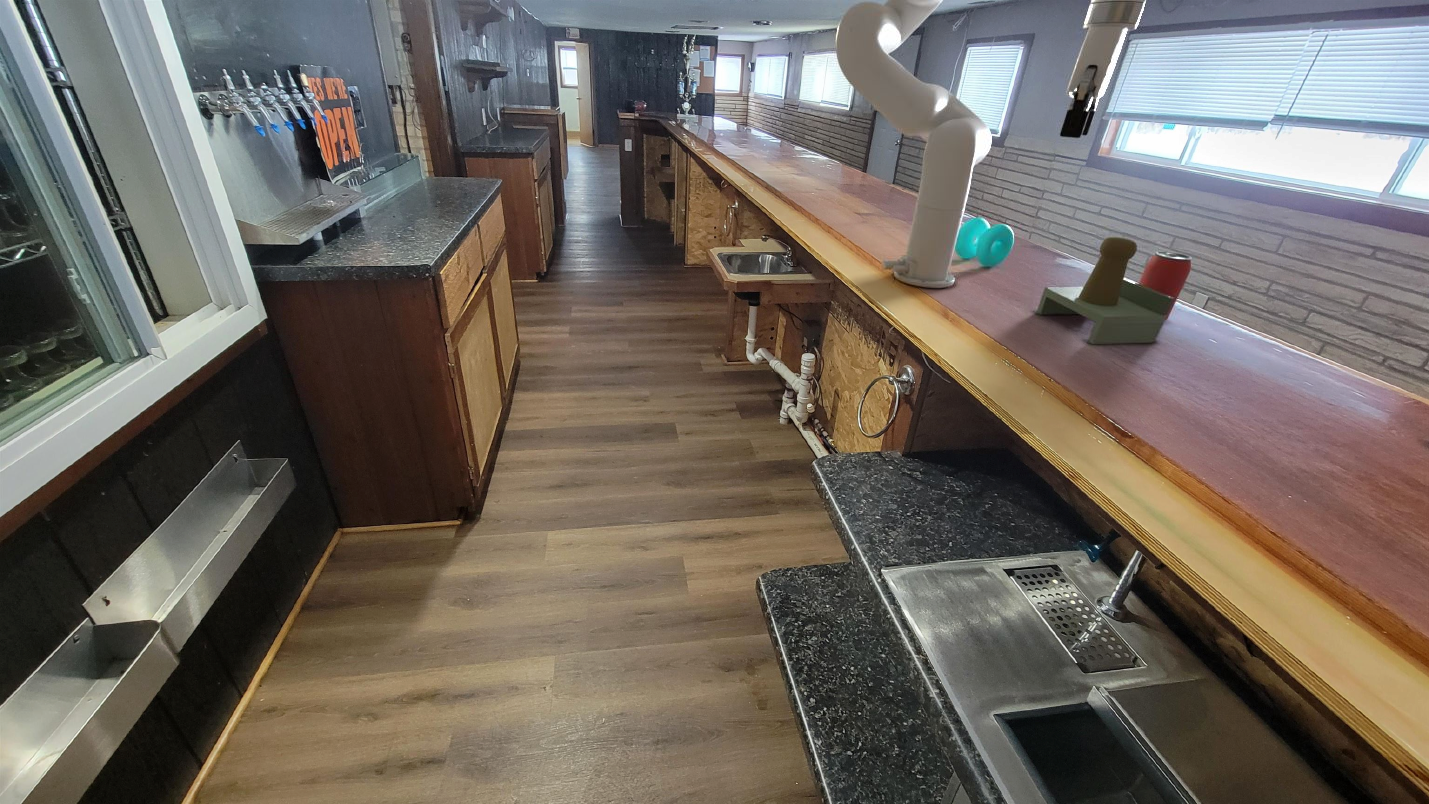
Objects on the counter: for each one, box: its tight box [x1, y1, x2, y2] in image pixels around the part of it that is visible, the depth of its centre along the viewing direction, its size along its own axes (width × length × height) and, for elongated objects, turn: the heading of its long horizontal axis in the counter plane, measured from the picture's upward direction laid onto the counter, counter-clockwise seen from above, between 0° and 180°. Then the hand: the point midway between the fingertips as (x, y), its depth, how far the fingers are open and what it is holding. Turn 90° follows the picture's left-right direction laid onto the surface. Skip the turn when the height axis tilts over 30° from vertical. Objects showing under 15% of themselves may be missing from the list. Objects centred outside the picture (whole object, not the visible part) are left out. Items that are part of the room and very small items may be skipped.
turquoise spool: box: [954, 216, 1015, 268], centre depth 135 cm, size 10×10×10 cm
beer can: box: [1138, 250, 1193, 322], centre depth 105 cm, size 7×7×12 cm
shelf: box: [1036, 277, 1175, 345], centre depth 101 cm, size 12×15×8 cm
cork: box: [1079, 236, 1138, 306], centre depth 97 cm, size 6×6×11 cm
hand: (1073, 136), depth 99 cm, fingers open, 9 cm apart
